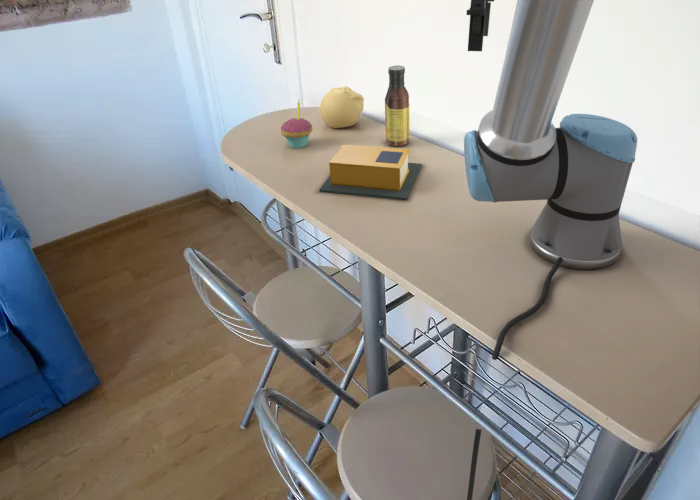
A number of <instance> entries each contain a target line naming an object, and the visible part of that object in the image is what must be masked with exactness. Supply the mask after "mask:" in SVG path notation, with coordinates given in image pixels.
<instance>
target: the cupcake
mask: <svg viewBox="0 0 700 500" xmlns="http://www.w3.org/2000/svg"><path fill="white" fill-rule="evenodd" d="M297 100H298V102H297V103H296V104H297V109H296V110H297V112H296V113H297V118H295V117H293V118H290V119H288V120H287V121H284V122H282V125H281V126H280V135H281V136H282V137H283V138H285V140H286V141H287V143H288V145H289V147H290V148H293V149H302V148H304V147H306V146H307V145H308V141H309V137H310V135H311V133H312V132H313V124H312V123H311V122H310V121H309V120H308V119H305V118H304V117H303V118H301V102H300V99H297Z"/></svg>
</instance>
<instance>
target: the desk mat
mask: <svg viewBox="0 0 700 500" xmlns="http://www.w3.org/2000/svg"><path fill="white" fill-rule="evenodd" d="M422 167H423V163H417V162H408V169H409V172H408V175H407V177H406V179H405V181H404V183H403V185H402V187H401V189H400V191H393V190H382V189H372V188H361V187H350V186H340V185H331V179H330V175H329V176H328V177H327V179H326V180H325V181H324V183H323V184H322V185H321V187H320V188H319V189H318V190H319V192H320V193H328V194H329V193H330V194H338V195H339V194H340V195H348V196H349V195H350V196H360V197H371V198H378V199H379V198H380V199H389V200H390V199H391V200H401V201H407V200H408V199H409V195H410V194H411V193H412V192H411V191H412V189H413V187H414V185H415V182H416V181H417V178H418V176H419V174H420V171H421V169H422Z"/></svg>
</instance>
